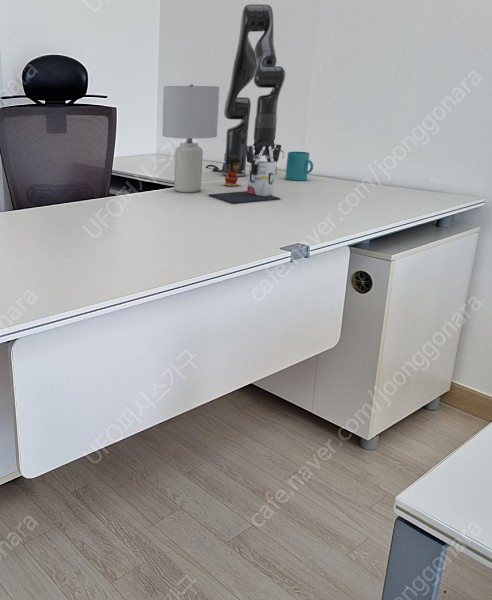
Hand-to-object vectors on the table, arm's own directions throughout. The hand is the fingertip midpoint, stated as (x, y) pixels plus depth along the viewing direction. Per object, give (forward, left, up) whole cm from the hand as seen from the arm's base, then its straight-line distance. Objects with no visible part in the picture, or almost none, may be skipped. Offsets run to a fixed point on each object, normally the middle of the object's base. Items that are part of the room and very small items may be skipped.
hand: (261, 174), depth 217 cm
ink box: (0, 0, -8) cm, 8 cm away
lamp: (-20, -19, -8) cm, 29 cm away
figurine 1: (-24, +3, -8) cm, 26 cm away
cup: (-25, +38, -8) cm, 46 cm away
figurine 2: (-44, +39, -8) cm, 59 cm away
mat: (0, -7, -8) cm, 11 cm away
